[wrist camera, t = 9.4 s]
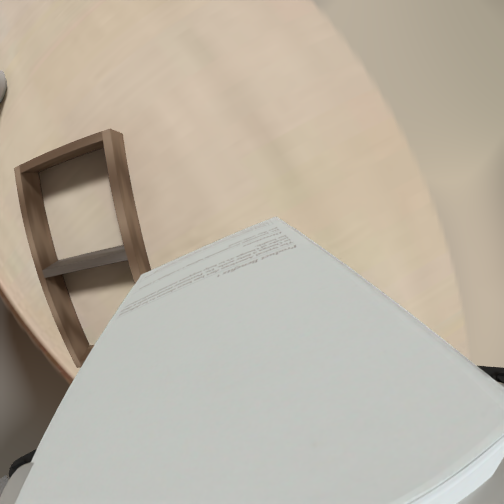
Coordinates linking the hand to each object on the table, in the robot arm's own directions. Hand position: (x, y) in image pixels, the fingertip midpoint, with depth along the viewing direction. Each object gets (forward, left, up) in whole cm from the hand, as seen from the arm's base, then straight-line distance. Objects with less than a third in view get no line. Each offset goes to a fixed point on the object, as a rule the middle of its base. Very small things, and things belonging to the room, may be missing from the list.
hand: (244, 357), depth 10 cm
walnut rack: (+1, +14, -19) cm, 23 cm away
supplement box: (0, 0, -4) cm, 4 cm away
